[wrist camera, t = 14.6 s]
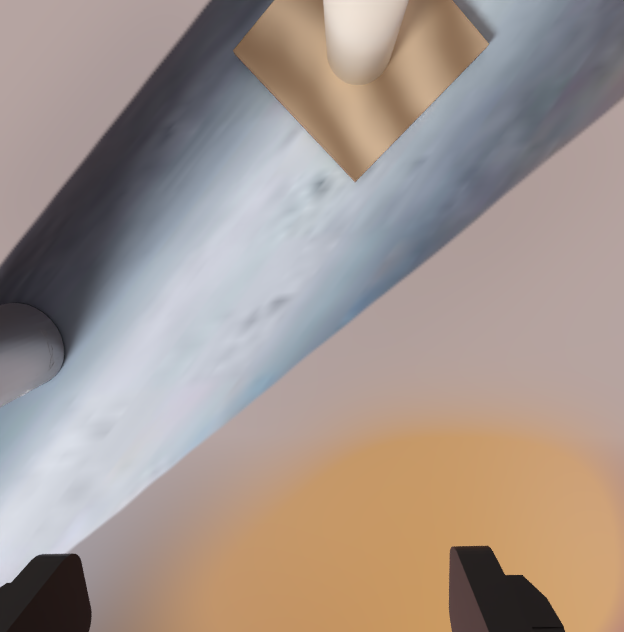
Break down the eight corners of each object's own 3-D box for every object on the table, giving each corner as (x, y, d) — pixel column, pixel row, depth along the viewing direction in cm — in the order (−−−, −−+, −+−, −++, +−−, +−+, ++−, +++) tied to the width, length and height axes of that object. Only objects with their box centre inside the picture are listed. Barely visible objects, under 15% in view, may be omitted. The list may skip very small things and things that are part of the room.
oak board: (355, 182, 37) (355, 181, 36) (235, 55, 35) (232, 50, 34) (484, 49, 34) (489, 44, 33) (361, -97, 32) (362, -107, 31)
